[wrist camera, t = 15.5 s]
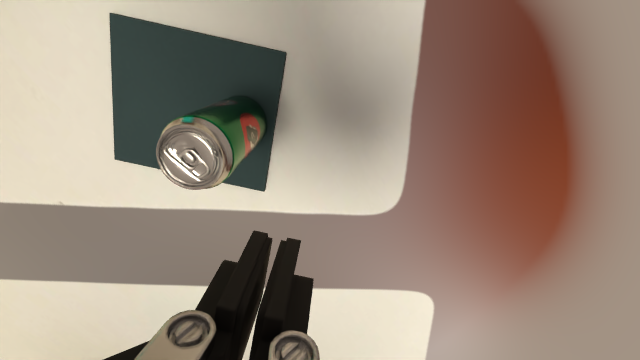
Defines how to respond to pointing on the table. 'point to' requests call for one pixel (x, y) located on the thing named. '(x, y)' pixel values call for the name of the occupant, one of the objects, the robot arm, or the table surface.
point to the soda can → (210, 142)
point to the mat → (186, 87)
